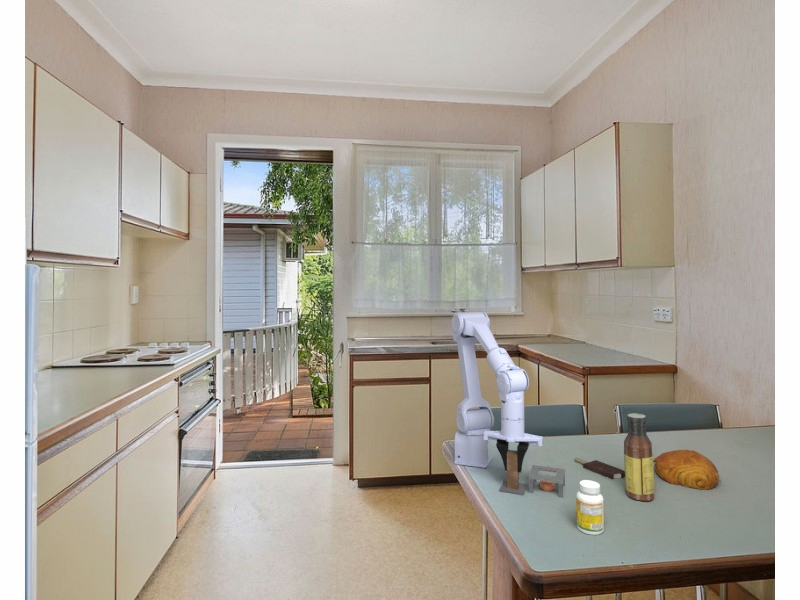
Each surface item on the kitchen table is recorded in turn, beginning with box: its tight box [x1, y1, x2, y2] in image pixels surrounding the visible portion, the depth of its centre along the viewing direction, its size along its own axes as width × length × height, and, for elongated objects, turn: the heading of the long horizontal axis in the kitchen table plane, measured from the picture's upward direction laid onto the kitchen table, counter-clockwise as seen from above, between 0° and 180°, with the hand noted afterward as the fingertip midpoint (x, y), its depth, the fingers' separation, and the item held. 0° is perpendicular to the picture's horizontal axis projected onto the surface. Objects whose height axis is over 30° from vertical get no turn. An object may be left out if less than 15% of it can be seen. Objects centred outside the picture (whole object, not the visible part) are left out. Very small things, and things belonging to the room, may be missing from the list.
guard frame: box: [528, 464, 566, 499], centre depth 115 cm, size 8×8×4 cm
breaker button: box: [539, 480, 555, 492], centre depth 115 cm, size 3×3×2 cm
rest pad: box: [498, 479, 528, 496], centre depth 116 cm, size 6×6×1 cm
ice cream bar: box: [574, 457, 625, 480], centre depth 127 cm, size 5×2×15 cm
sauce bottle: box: [623, 412, 655, 502], centre depth 110 cm, size 7×6×20 cm
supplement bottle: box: [575, 479, 605, 536], centre depth 96 cm, size 5×5×10 cm
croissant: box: [653, 449, 720, 490], centre depth 121 cm, size 14×16×8 cm
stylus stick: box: [506, 449, 520, 490], centre depth 115 cm, size 3×3×9 cm
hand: (513, 470), depth 116 cm, fingers closed on stylus stick, 3 cm apart
